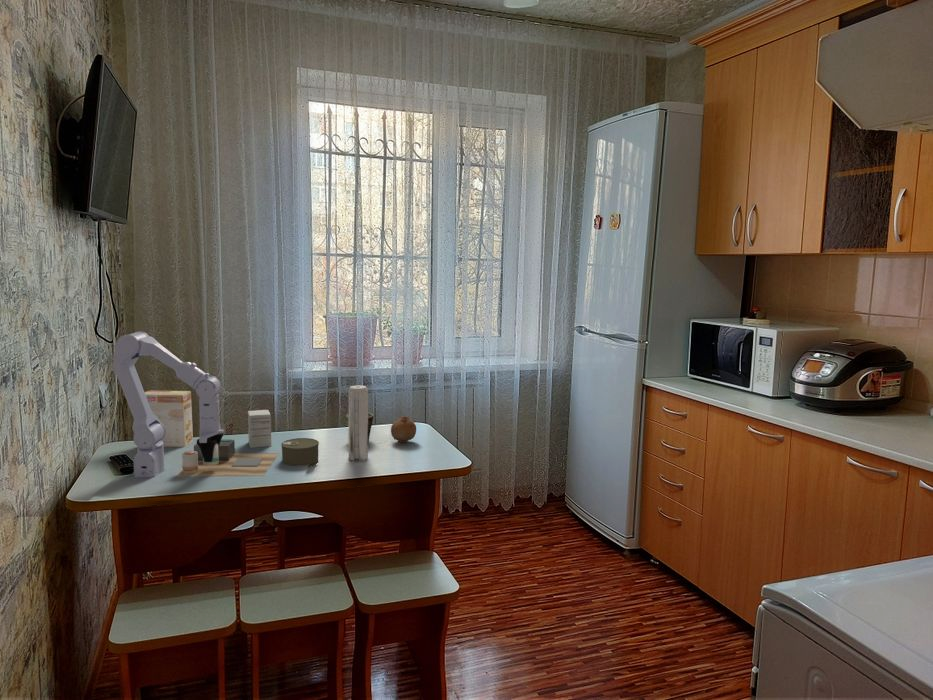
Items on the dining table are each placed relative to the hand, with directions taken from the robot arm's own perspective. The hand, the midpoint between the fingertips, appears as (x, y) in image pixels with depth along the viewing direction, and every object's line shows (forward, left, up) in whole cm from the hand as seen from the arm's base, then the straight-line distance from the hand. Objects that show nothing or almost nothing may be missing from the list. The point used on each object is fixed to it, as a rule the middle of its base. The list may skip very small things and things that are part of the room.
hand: (210, 459), depth 199 cm
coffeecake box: (+30, +24, -5) cm, 39 cm away
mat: (+8, -9, -4) cm, 13 cm away
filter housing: (+14, +3, -4) cm, 14 cm away
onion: (+34, -59, -5) cm, 68 cm away
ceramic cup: (+34, -43, -5) cm, 55 cm away
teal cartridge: (0, 0, -1) cm, 1 cm away
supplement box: (+29, -8, -5) cm, 31 cm away
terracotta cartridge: (-1, +6, -4) cm, 7 cm away
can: (+11, -26, -5) cm, 28 cm away
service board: (+6, -4, -5) cm, 9 cm away
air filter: (+15, -44, -5) cm, 47 cm away
